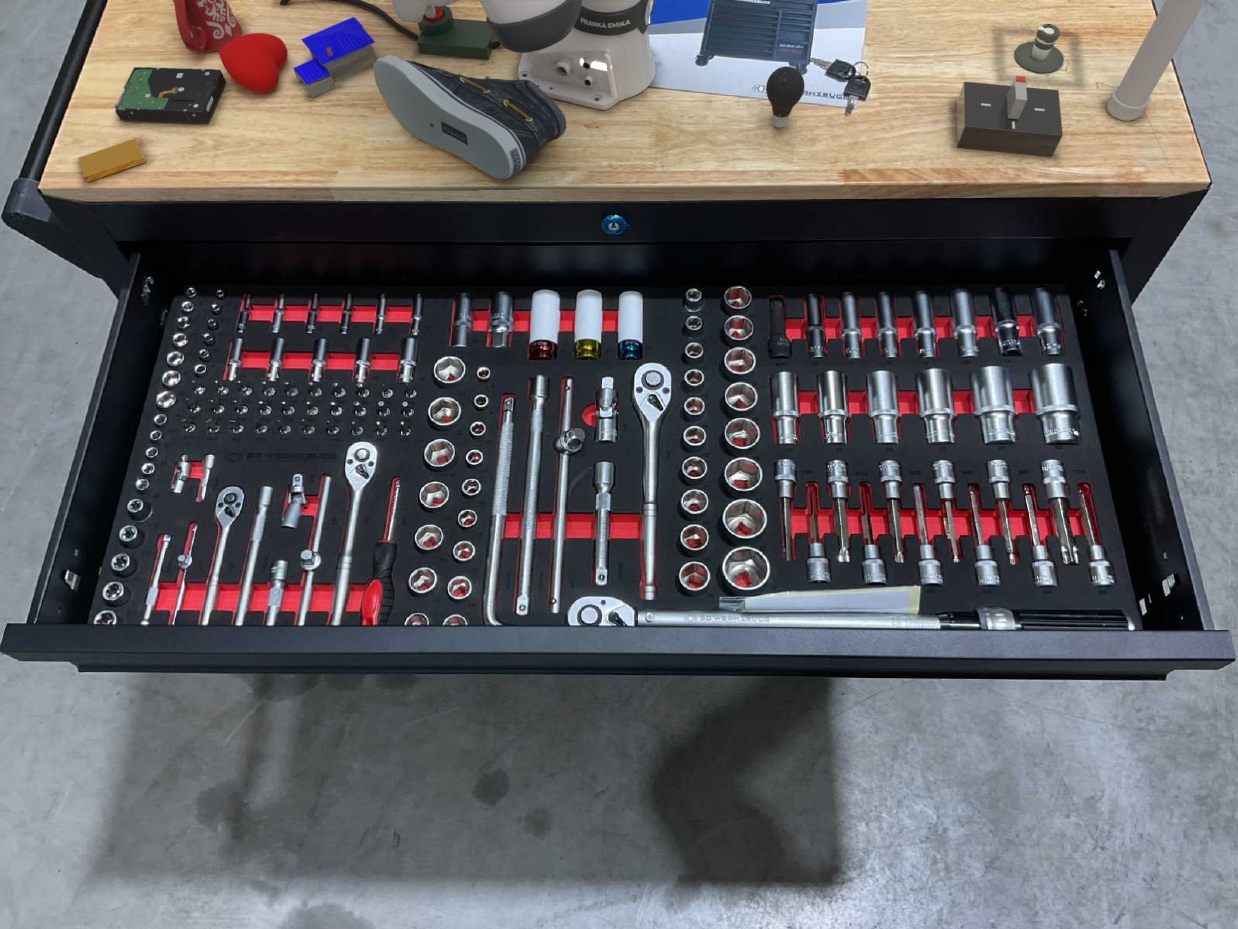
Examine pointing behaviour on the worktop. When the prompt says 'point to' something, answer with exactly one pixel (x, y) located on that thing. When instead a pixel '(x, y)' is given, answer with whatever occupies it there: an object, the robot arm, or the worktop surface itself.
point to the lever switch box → (1008, 120)
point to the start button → (437, 17)
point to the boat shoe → (471, 114)
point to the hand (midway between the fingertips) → (432, 12)
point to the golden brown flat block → (111, 160)
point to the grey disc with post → (1041, 51)
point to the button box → (455, 37)
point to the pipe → (1153, 58)
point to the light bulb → (784, 93)
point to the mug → (206, 24)
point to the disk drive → (170, 95)
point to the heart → (255, 60)
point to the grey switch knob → (1016, 97)
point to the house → (335, 55)
